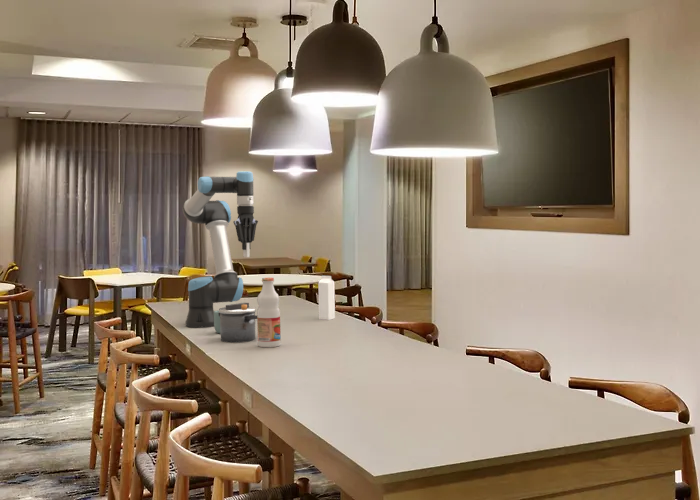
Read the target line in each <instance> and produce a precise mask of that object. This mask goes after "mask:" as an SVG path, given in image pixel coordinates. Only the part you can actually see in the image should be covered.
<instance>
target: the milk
mask: <svg viewBox="0 0 700 500" xmlns="http://www.w3.org/2000/svg"><path fill="white" fill-rule="evenodd" d="M317 284H318V319H319V320H320V321H321V320H323V321H331V320H335V319H336V307H335V306H336V305H335V304H336V302H335V301H336V299H335V298H336V297H335V296H336V295H335V294H336V293H335V289H336V288H335V281H334V280H333V279H332V275H321V277H320V280H319V281H318V283H317Z"/></svg>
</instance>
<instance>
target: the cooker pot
mask: <svg viewBox="0 0 700 500" xmlns="http://www.w3.org/2000/svg"><path fill="white" fill-rule="evenodd" d="M219 316H220V333H219V335H220V341H221V342H224V343H245V342H252V341H255V340H256V339H257V338H256V337H257V336H256V320H257V314H256V312H252V313H245V314H222V313H219Z"/></svg>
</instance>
